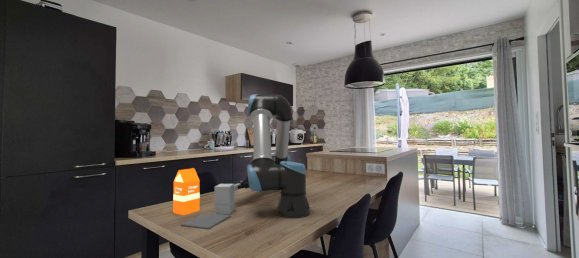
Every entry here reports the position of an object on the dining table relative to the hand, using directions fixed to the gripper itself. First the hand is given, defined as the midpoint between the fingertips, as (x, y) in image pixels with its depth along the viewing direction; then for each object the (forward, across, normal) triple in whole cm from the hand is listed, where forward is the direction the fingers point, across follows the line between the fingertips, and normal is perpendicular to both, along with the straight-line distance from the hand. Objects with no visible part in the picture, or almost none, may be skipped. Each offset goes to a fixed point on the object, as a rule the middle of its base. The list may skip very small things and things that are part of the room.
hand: (232, 188), depth 123 cm
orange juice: (+12, +18, -10) cm, 24 cm away
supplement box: (+7, 0, -10) cm, 12 cm away
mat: (+20, 0, -10) cm, 23 cm away
